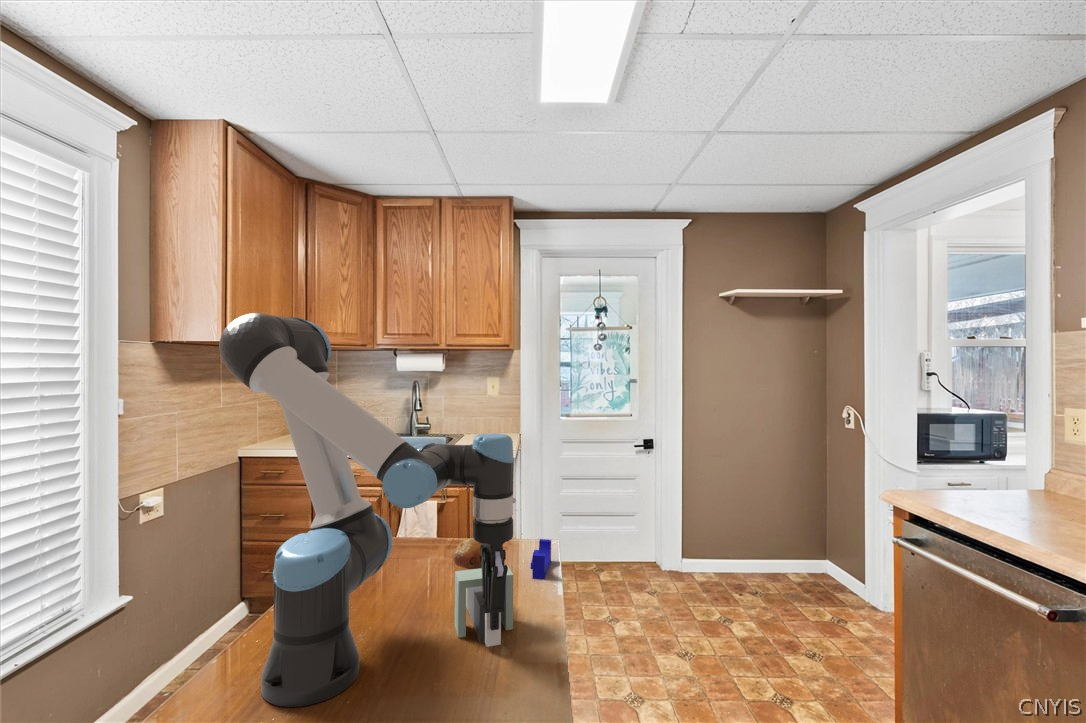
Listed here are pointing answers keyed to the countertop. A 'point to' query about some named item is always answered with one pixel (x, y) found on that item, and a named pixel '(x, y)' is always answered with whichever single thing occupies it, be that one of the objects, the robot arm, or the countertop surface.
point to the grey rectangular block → (476, 610)
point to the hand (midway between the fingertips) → (492, 643)
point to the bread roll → (468, 554)
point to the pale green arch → (475, 580)
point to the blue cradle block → (541, 559)
